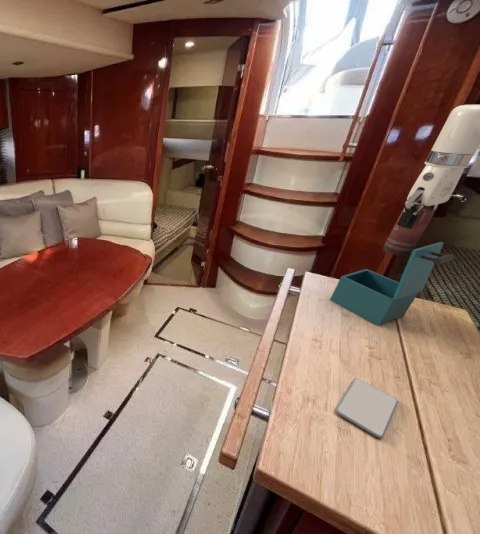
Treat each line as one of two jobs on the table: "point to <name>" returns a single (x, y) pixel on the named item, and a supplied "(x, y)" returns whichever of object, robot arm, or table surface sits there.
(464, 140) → the robot arm
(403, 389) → the table surface
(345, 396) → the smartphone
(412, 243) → the can
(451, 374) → the table surface
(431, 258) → the cooler lid
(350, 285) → the box
